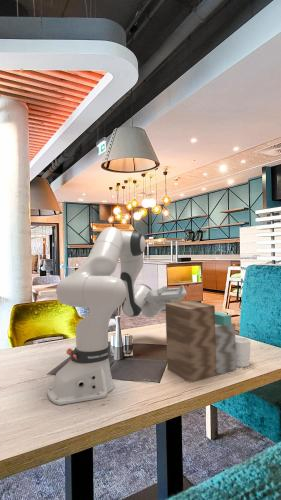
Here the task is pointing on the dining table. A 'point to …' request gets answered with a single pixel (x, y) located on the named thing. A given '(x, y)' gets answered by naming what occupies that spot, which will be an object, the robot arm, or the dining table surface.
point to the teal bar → (222, 319)
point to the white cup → (242, 351)
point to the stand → (198, 341)
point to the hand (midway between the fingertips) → (174, 287)
